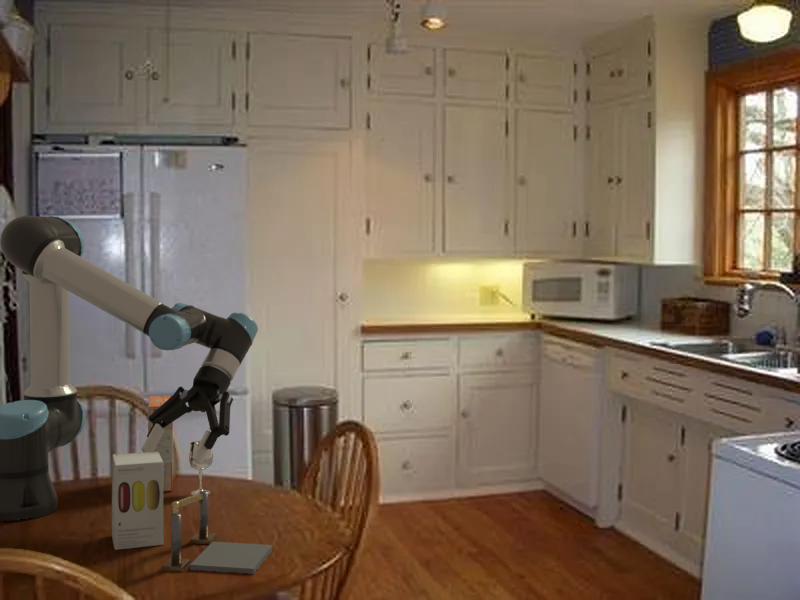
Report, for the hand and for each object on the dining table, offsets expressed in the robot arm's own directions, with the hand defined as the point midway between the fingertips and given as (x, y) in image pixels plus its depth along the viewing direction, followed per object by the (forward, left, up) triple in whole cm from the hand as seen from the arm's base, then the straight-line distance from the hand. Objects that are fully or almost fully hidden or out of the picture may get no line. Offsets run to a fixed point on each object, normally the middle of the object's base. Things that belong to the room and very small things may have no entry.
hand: (170, 457), depth 176 cm
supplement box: (-4, -7, -15) cm, 17 cm away
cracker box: (-15, +30, -15) cm, 36 cm away
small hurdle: (+9, -12, -15) cm, 22 cm away
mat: (+18, -14, -15) cm, 28 cm away
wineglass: (-3, +25, -15) cm, 29 cm away
